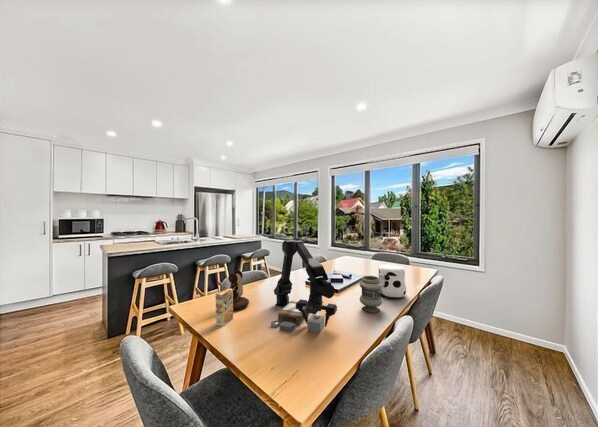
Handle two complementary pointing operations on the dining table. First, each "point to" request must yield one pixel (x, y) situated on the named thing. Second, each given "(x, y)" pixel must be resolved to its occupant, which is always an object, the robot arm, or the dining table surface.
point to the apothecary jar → (371, 294)
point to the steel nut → (275, 324)
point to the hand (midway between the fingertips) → (316, 324)
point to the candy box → (224, 307)
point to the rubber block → (287, 326)
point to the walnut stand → (290, 312)
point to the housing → (315, 323)
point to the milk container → (392, 281)
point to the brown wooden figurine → (237, 290)
